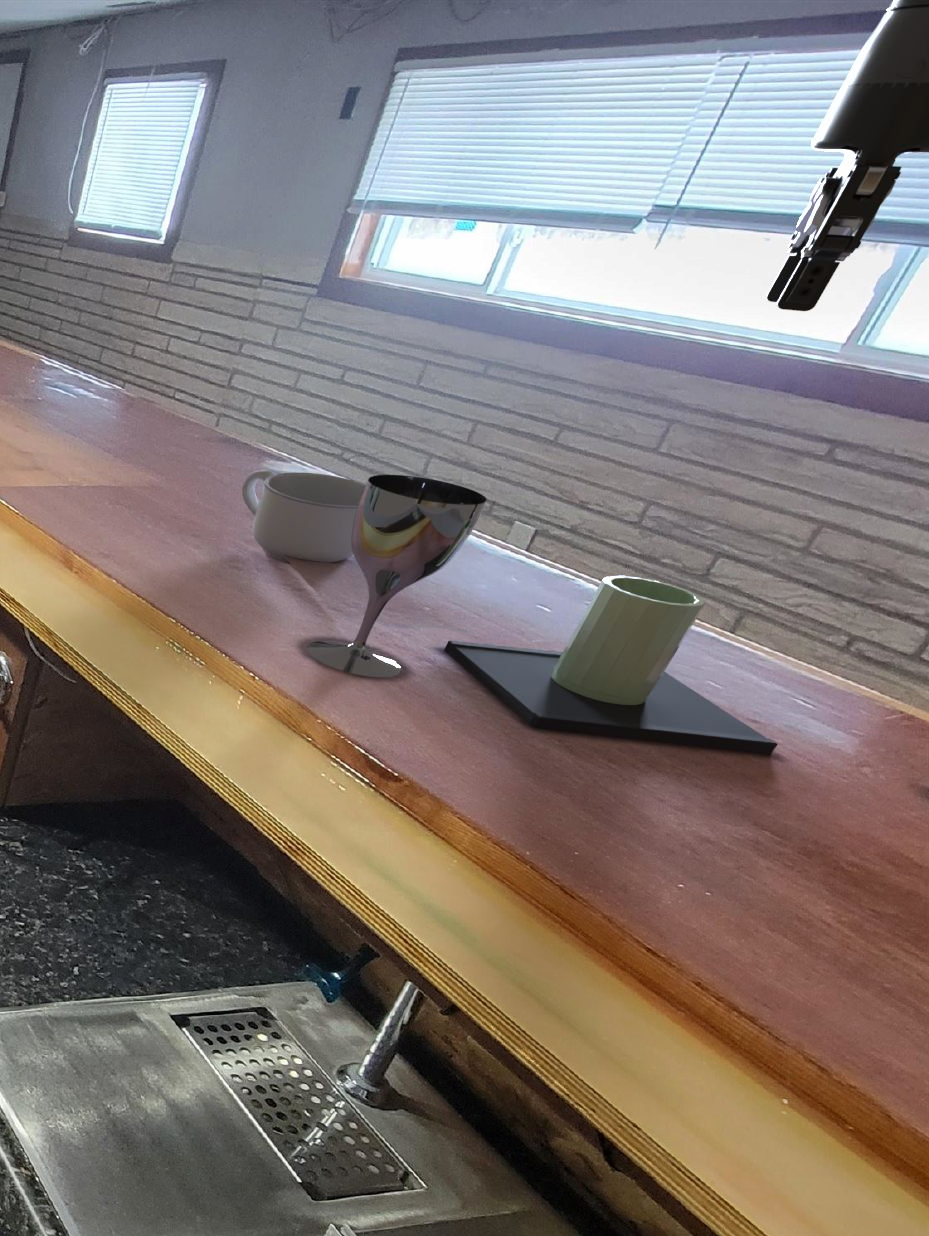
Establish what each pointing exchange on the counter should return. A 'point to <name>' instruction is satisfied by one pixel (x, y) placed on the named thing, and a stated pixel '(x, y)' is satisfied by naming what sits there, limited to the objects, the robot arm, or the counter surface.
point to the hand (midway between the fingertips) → (786, 306)
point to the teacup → (303, 514)
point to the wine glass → (399, 553)
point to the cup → (626, 639)
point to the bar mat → (603, 703)
